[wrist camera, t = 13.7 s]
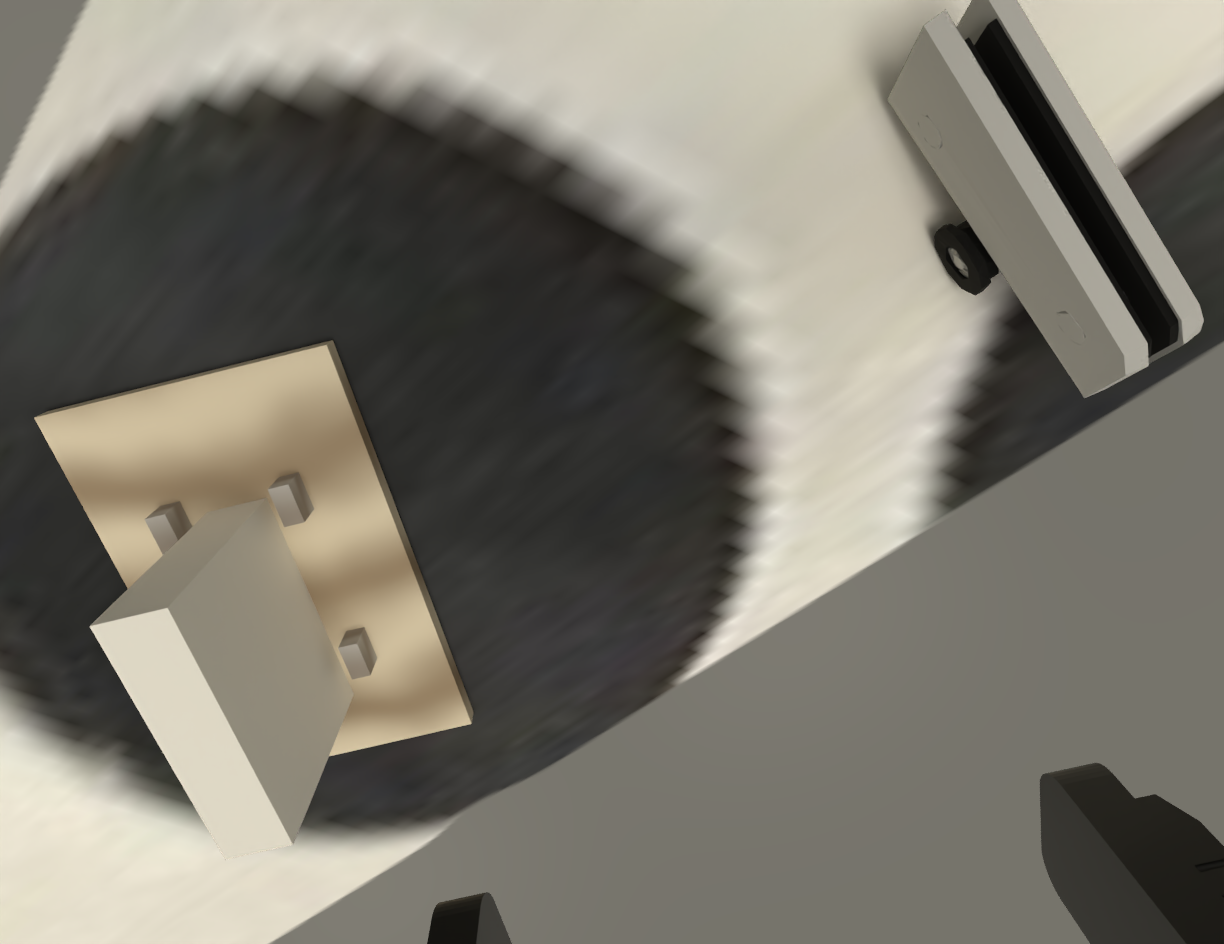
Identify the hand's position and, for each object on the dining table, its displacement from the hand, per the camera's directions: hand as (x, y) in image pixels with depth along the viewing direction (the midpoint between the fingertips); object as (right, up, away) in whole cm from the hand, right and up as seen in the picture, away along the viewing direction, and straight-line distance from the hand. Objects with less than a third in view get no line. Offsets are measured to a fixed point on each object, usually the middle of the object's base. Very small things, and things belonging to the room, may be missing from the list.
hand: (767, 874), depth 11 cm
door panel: (-19, -1, +29) cm, 34 cm away
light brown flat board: (-20, 0, +29) cm, 35 cm away
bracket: (+10, +22, +20) cm, 31 cm away
